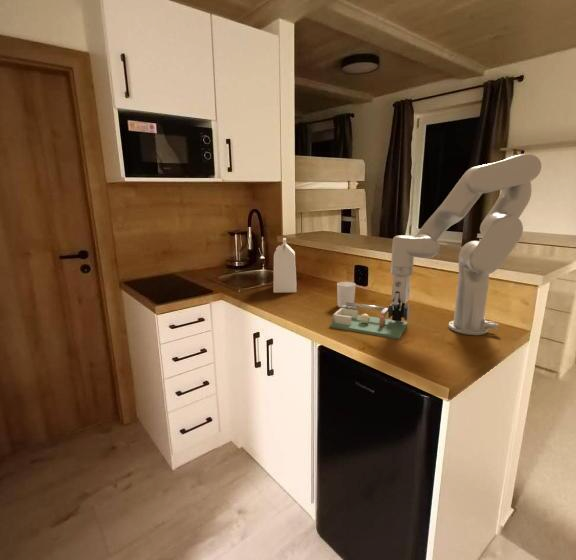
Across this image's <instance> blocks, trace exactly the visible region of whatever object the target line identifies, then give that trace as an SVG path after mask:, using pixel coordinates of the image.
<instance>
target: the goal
mask: <svg viewBox="0 0 576 560" xmlns="http://www.w3.org/2000/svg"><path fill="white" fill-rule="evenodd" d="M358 315H359V310H358V309H356V310H352V309H350V308H348V309H345V308H340V307H339V309H338V310H336V311H335V312H334V313H333V314H332V322H334V323H340V324H346V325H351V321H352V318H356V319H357V318H358Z"/></svg>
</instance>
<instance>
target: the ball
mask: <svg viewBox="0 0 576 560" xmlns="http://www.w3.org/2000/svg"><path fill="white" fill-rule="evenodd" d="M360 315H361V316H360V321H361V322H362V323H368V322H369V320H370V317H369V316H370V315H369V314H368V313H362V314H360Z"/></svg>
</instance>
